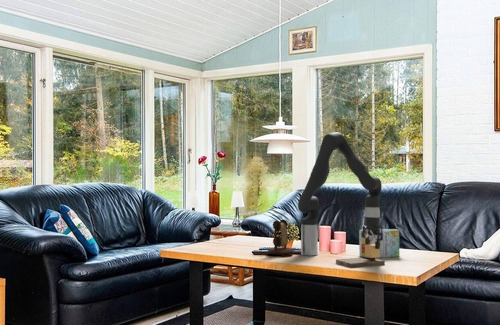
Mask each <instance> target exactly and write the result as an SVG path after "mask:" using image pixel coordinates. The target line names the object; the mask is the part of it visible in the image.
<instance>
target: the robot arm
mask: <svg viewBox="0 0 500 325" xmlns="http://www.w3.org/2000/svg"><path fill="white" fill-rule="evenodd" d="M335 150H338V151H339V152H340V153H341V154H342V155H343V156H344V158H345V161H346V163H347V166H348V168H349V169H350V171H351V172H352V173H353V174H354V176H356V178H357V180H359V183H360V184H361V186H362V187H363V188H364V189H365V190H366V191H368V194H367V195H366V197H365V201H364V202H365V204H364V205H365V206H364V225H363V226H362V230H363V235H362V237H363V238H365V245H369V244H370V237H371V236H373V238H374V239H375V241H376V242H375V249H380V241H382V240H383V230H382V229H383V228H379V226H380V225H381V210H380V198H381V193H382V188H383V187H382V180H381V179H380V178H379V177H377V176H372V175H371V174H370V173H369V171H370V170H369V169H368V167H367V166H366V165H365V163H364V162H363V161H362V160H361V159H360V158H359V157H358V155H357V154H356V152H355V151H354V150H353V147H351V146H350V143H349V142H348V140H347V139H346V137H345V136H344V135H343V134H342V133H341V132H337V131H335V132H329V133H327V134H325V135H324V136H323V138H322V141H321V144H320V147H319V151H318V155H317V158H316V159H315V163H314V165H313V166H312V167H313V168H312V169H311V173H310V175H309V178H308V181H307V183H306V185H305V187H304V188H303V189H304V190H303V191H302V193H301V194H300V197H299V199H298V201H297V208H298V212H300V213H303V214H304V213H305V214H306V213H307V216H305V217H303V218H302V219H301V221H300V223H301V228H300V232H301V236H300V255H302V256H317V255H319V253H318V250H319V249H318V246H319V244H318V239H319V238H318V236H319V235H318V221H319V218H320V216H319V212H320V202H319V199H318V197H317V196H314V195H315V193H316V192H317V191H318V190H320V188H322V187H323V186H324V185H325V183H326V182H327V179H328V177H329V174H330V172H331V170H330V169H331V167H330V158H331V156H332V154H333V152H334V151H335ZM365 233H366V234H365ZM380 236H381V238H380Z"/></svg>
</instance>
